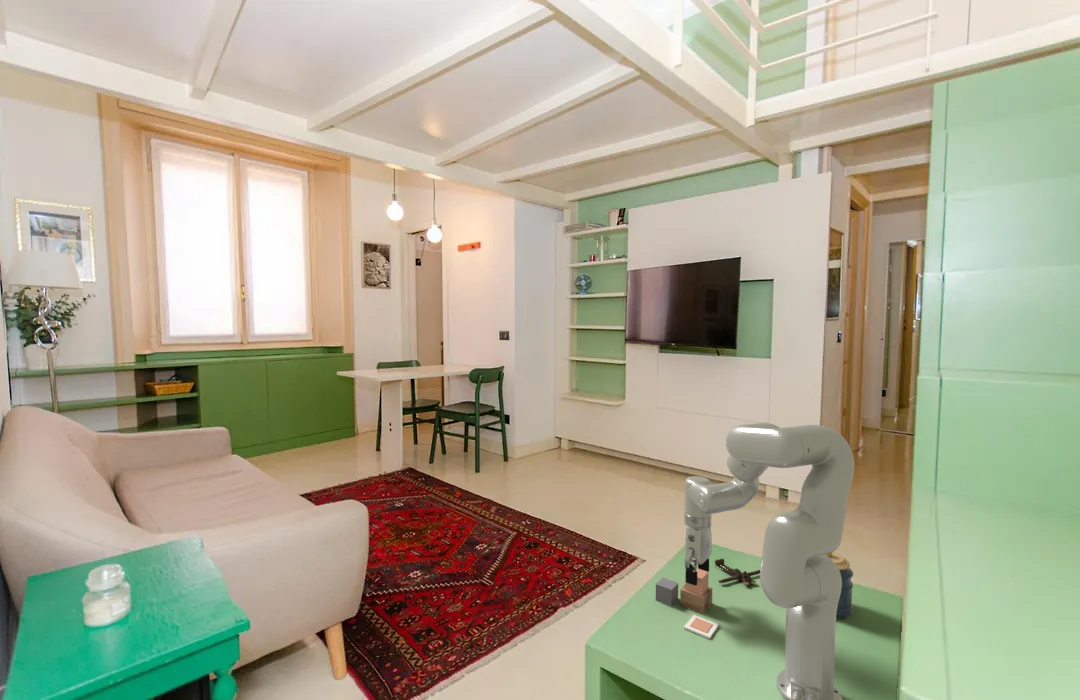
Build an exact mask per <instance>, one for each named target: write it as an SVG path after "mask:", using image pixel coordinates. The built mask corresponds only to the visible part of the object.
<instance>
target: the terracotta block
mask: <svg viewBox="0 0 1080 700" xmlns="http://www.w3.org/2000/svg"><path fill="white" fill-rule="evenodd" d="M696 571H697V585H696V586H695V585H692V584H689V583H686V572H685V574H684V575H685V578H684V579H685V580H684V581H685V582H684V585H685V590H688V591H690V592H693V593H696V594H699V595H701V596H702V595H703V594H704V593H705V592H706V591H707V589H708V586H709V572H707V571H704V570H701V569H698V567H697V569H696Z"/></svg>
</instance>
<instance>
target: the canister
mask: <svg viewBox="0 0 1080 700" xmlns="http://www.w3.org/2000/svg"><path fill="white" fill-rule="evenodd" d="M825 555H826V556H828V557H829V558H831V559H832V560H833V561H834V563H835V564H836V565H837V567H838V569H839V571H840V574H841V578H842V588H841V594H840V598H839V602H838V607H837V614H836V620H842V619H847V618H850V617H851V616H852V615H851V614H852V612H853V607H854V606H853V588H854V587H853V586H854V584H853V581H852V578H853V576H854V572H853V570H852V568H850V567H851V564H850V562H849V560H847V559H846V558H844V557H843V556H842V555H841V554H839V553H837V552H836V551H834V552H831V553H828V554H825Z"/></svg>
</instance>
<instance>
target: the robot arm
mask: <svg viewBox="0 0 1080 700" xmlns="http://www.w3.org/2000/svg"><path fill="white" fill-rule="evenodd" d="M725 447H726V450H727V452H728V454H729V456H728V457H727V459H726V466H727V469H728V470H729V472H730V474H731V475H732V476H733V479H731V480H730V481H729V482H728V481H727V482H721V483H715V484H712V481H711V480H710V479H708V478H707V477H704V476H700V475H693V476H688V477H687V478H685V481H684V525H685V526H686V530H685V543H684V567H685V568H684V569H685V573H686V583H689V584H692V585H695V586H696V585H697V571H696V569H697V568H698V569H701V570H704V571H707V572H708V573H709V572H710V557H711V556H712V554H713V541H712V540H713V538H712V537H713V536H712V535H713V534H712V514H713V515H714V514H719V513H723V512H730V511H735V510H739V509H742V508H744V507H745V506H746V505H747V504H749V503H750V502H751V500H752V499H753V498H754V497H756V495H757V493H758V492H759V488H760V487H759V486H760V477H761V476H762V475H763V474H764V473H765V471H766V470H768V468H769V467H770V468H779V469H790V468H796V467H797V468H798V467H803V466H804V467H805V466H809V465H811V469H810V471H809V473H808V475H807V476H806V477H805V480H804V481H803V483H802V487H801V493H800V500H799V504H798V506H797V508H795V509H794V510H790V511H786V512H782V513H779V514H776V515H775V516H774V517H773V518H771V520H770V521H769V522H768V524H767V527H766V529H765V533H764V539H763V547H762V554H761V561H760V567H759V568H760V569H759V570H760V574H759V577H760V578H759V579H760V585H761V588H762V590H763V593H764V594H765V596H766V598H767V600H769V601H770V602H771V603H772V604H773V605H775V606H777V607H779V608H782V609H786V611H785V614H786V615H785V645H784V647H785V649H784V655H785V657H784V669H783V670H781V671H780V672H779V673H778V675H777V677H776V685H777V688H778V691H779V693H780V694H781V695H782V696H783V697H784V699H785V700H843V698H842V695H841V692H840V691H839V689H837V687H836V686H835V662H836V661H835V659H836V654H835V653H836V630H837V629H836V628H837V619H836V614H837V607H838V602H839V598H840V594H841V588H842V578H841V574H840V571H839V569H838V567H837V565H836V564H835V563H834V561H833V560H832V559H831V558H829V557H828V556H826V555H825V554H828V553H831V552H836V550H838V548H839V547H840V546H841V543H842V538H843V532H844V527H845V521H846V513H847V509H848V500H849V495H850V491H851V487H852V483H853V479H854V473H855V459H854V454H853V451H852V449H851V447H850V444H849V443H848V440H846V438H844V436H843V435H842V434H841V433H839V432H838V431H836V430H835V429H834V428H831V427H829V426H826V425H822V424H821V425H820V424H807V425H798V426H789V427H779V426H777V425H776V424H773V423H769V422H757V423H749V424H747V423H746V424H739V425H736V426H733V428H732V429H730V431H729V432H728V433H727V435H726V438H725ZM692 563H693V564H692Z"/></svg>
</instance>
